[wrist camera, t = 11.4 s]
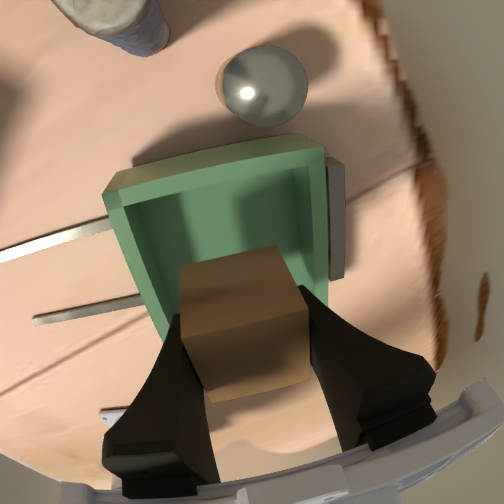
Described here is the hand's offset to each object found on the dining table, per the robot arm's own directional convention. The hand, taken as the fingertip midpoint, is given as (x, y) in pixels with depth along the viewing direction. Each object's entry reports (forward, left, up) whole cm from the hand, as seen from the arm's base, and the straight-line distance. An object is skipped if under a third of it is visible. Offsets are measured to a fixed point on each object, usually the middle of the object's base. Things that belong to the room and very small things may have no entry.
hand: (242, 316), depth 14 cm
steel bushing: (+9, -3, -7) cm, 12 cm away
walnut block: (0, 0, -2) cm, 2 cm away
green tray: (0, 0, -7) cm, 7 cm away
